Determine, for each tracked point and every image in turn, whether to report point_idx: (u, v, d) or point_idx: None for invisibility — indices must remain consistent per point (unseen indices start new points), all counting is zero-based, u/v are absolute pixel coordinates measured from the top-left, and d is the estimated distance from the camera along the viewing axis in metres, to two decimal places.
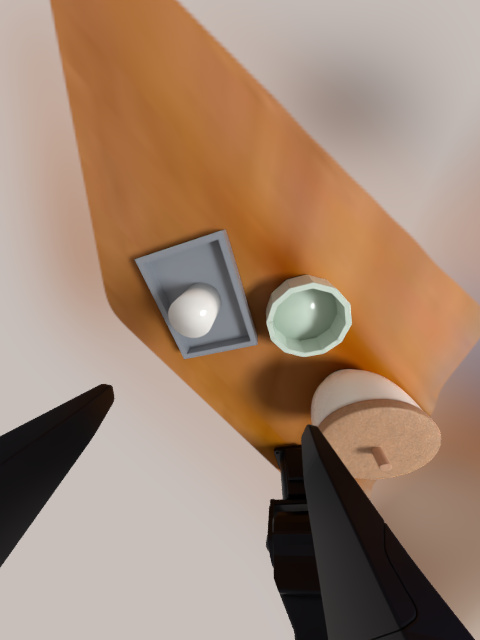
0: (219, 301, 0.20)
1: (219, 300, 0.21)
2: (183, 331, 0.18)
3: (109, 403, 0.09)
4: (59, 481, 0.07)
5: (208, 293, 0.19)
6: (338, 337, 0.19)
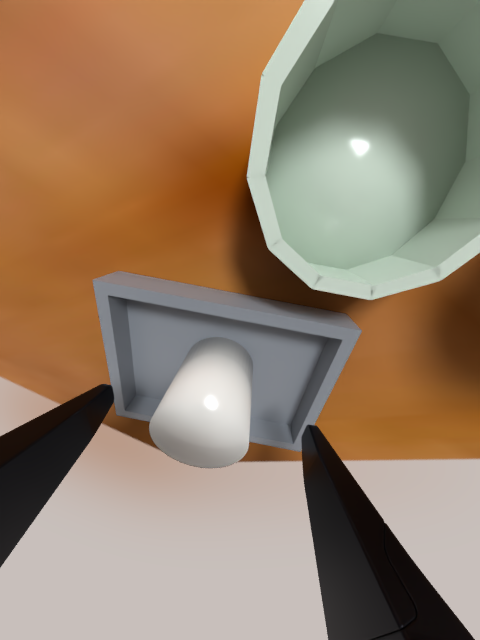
0: (225, 348, 0.10)
1: (223, 347, 0.10)
2: (221, 460, 0.08)
3: (109, 403, 0.09)
4: (60, 481, 0.07)
5: (189, 365, 0.09)
6: None
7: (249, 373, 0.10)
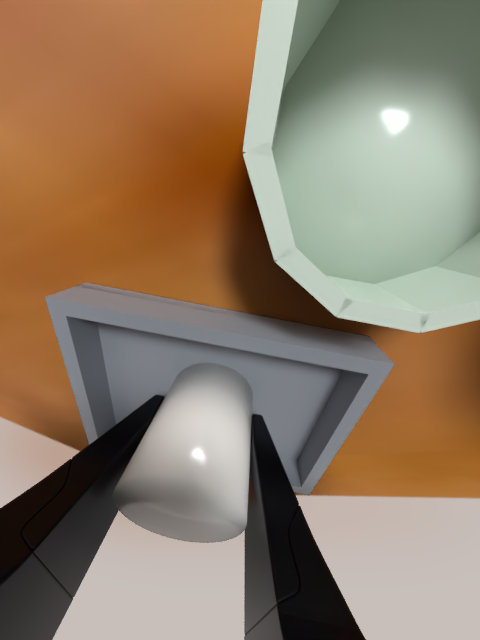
0: (218, 380, 0.08)
1: (216, 378, 0.08)
2: (211, 536, 0.06)
3: None
4: None
5: (170, 406, 0.07)
6: None
7: (248, 411, 0.08)
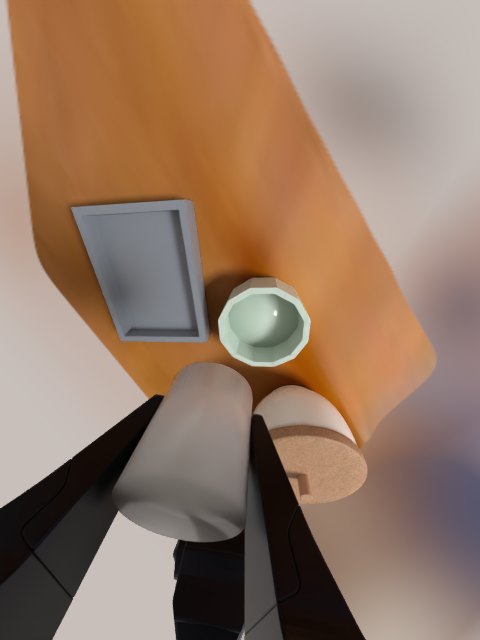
0: (218, 380, 0.08)
1: (216, 378, 0.08)
2: (210, 535, 0.06)
3: None
4: None
5: (169, 406, 0.07)
6: (291, 352, 0.18)
7: (247, 410, 0.08)
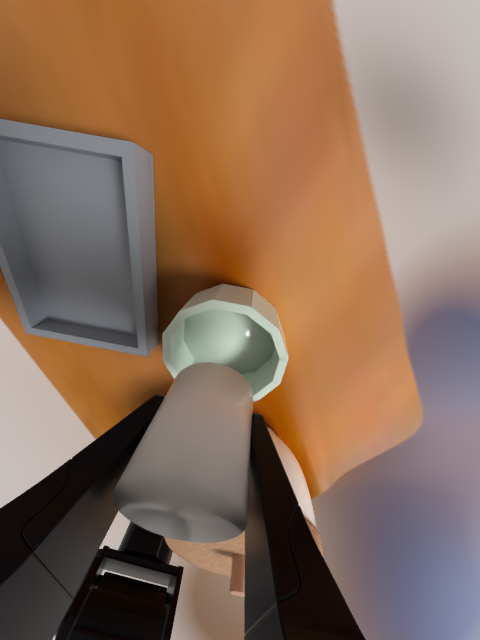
0: (218, 380, 0.08)
1: (216, 378, 0.08)
2: (211, 536, 0.06)
3: None
4: None
5: (170, 406, 0.07)
6: (256, 393, 0.13)
7: (248, 410, 0.08)
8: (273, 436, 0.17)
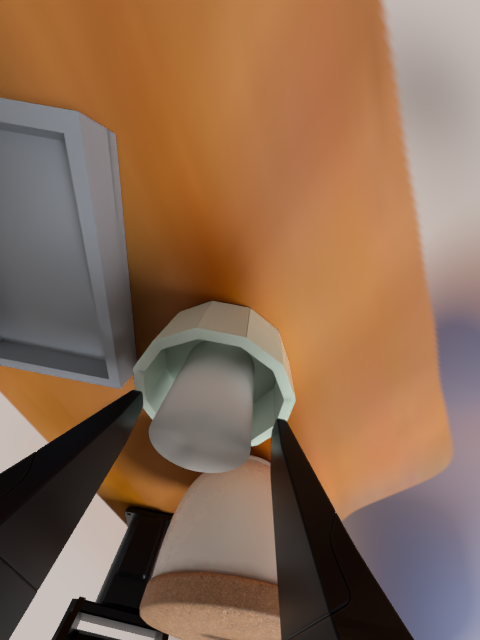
0: (226, 351, 0.10)
1: (224, 349, 0.10)
2: (223, 465, 0.08)
3: (139, 409, 0.09)
4: (97, 489, 0.07)
5: (189, 369, 0.09)
6: (254, 437, 0.11)
7: (251, 376, 0.10)
8: None
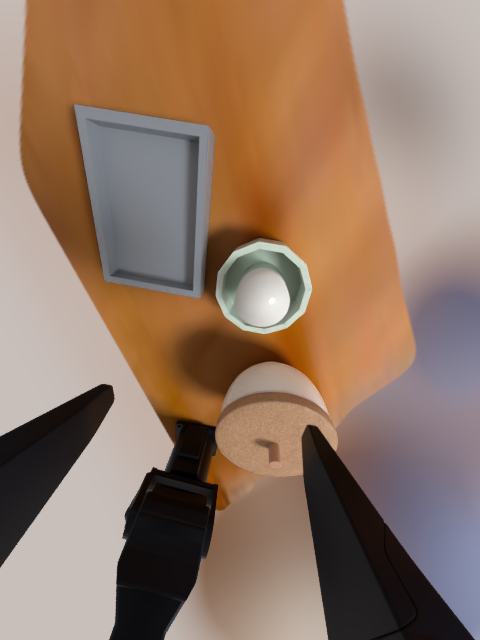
0: (270, 265, 0.17)
1: (268, 265, 0.17)
2: (272, 319, 0.15)
3: (109, 403, 0.09)
4: (60, 481, 0.07)
5: (251, 270, 0.16)
6: (286, 321, 0.17)
7: (284, 280, 0.17)
8: None
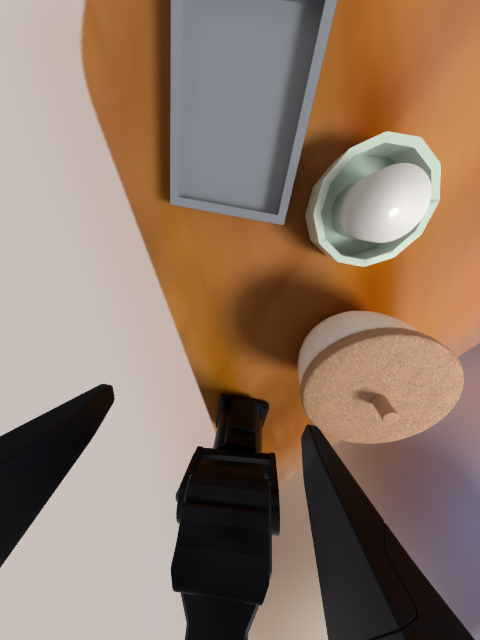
0: None
1: None
2: (398, 231, 0.12)
3: (109, 403, 0.09)
4: (59, 481, 0.07)
5: (366, 176, 0.13)
6: (394, 249, 0.14)
7: None
8: None
